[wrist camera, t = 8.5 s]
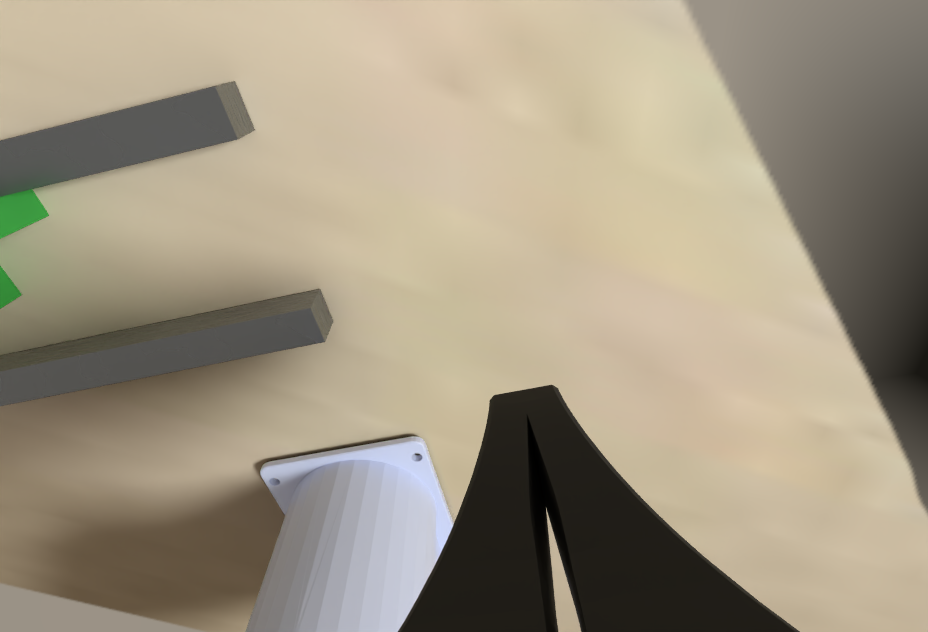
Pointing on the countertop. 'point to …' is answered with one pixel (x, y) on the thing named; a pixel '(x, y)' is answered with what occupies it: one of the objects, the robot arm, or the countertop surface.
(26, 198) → the pipe clamp
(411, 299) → the countertop surface
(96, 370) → the guide track
